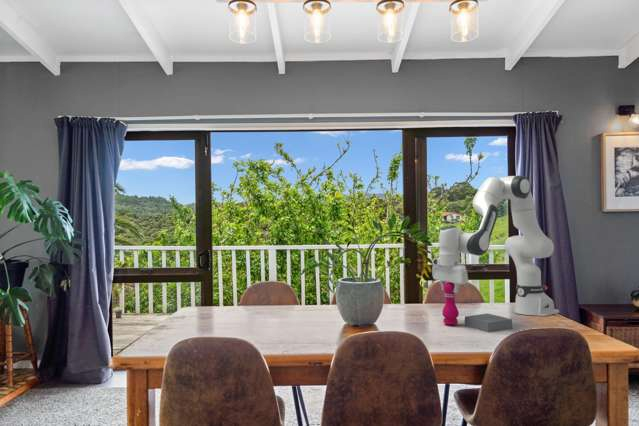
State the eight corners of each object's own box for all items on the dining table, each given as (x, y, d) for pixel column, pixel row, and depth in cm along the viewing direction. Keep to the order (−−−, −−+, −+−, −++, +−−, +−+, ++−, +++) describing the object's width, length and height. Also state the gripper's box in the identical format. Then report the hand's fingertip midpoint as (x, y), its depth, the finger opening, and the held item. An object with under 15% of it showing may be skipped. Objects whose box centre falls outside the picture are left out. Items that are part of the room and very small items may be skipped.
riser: (488, 322, 219) (487, 313, 219) (512, 328, 207) (511, 319, 207) (464, 325, 213) (464, 316, 213) (488, 332, 201) (488, 322, 201)
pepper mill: (459, 325, 210) (458, 280, 211) (442, 324, 212) (442, 280, 212) (458, 321, 217) (457, 278, 218) (442, 321, 219) (441, 278, 219)
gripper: (471, 262, 207) (471, 294, 207) (440, 259, 225) (440, 288, 225) (460, 263, 204) (460, 295, 204) (429, 260, 223) (430, 289, 223)
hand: (450, 291), depth 215 cm, fingers closed on pepper mill, 6 cm apart
